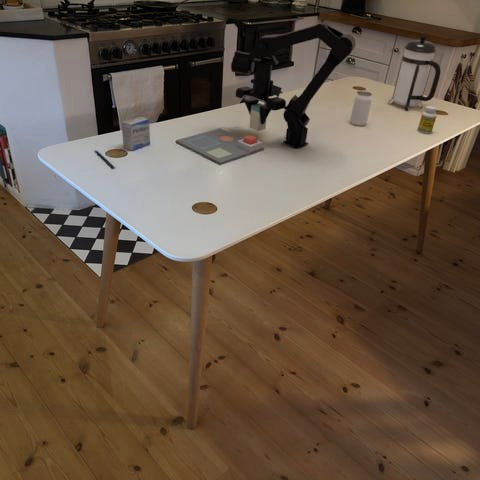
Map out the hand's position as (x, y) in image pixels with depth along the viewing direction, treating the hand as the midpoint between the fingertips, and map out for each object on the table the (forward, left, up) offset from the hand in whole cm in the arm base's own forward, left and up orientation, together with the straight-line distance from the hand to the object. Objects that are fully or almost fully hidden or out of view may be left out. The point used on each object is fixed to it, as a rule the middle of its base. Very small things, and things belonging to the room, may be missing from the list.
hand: (258, 122), depth 162 cm
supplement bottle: (-35, -59, -5) cm, 69 cm away
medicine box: (+17, +39, -5) cm, 43 cm away
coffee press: (-15, -83, -5) cm, 85 cm away
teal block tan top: (0, 0, -2) cm, 2 cm away
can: (-14, -44, -5) cm, 47 cm away
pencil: (+14, +53, -6) cm, 55 cm away
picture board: (+1, +17, -5) cm, 18 cm away
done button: (-7, +11, -3) cm, 13 cm away
